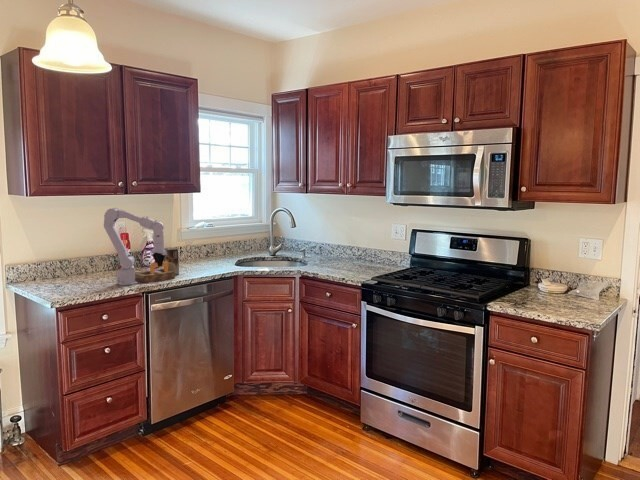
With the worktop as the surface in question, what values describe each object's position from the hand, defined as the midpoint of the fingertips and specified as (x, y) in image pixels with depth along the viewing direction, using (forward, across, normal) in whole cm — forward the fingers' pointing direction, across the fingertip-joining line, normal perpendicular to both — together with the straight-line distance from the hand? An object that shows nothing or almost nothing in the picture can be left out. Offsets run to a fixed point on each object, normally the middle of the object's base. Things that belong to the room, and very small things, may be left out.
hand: (159, 266), depth 274 cm
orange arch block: (+4, 0, 0) cm, 4 cm away
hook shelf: (+10, +13, -3) cm, 17 cm away
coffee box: (+10, +20, -19) cm, 29 cm away
